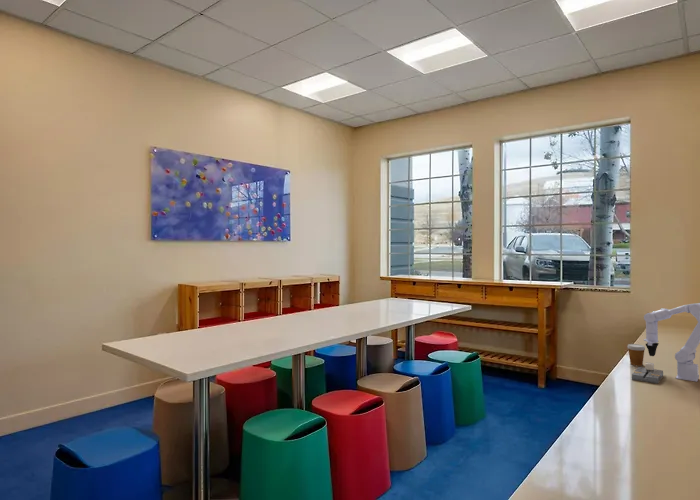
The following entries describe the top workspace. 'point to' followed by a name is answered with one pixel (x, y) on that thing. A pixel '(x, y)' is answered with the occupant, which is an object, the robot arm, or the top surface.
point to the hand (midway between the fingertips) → (652, 355)
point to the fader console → (647, 375)
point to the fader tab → (649, 366)
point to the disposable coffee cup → (636, 354)
